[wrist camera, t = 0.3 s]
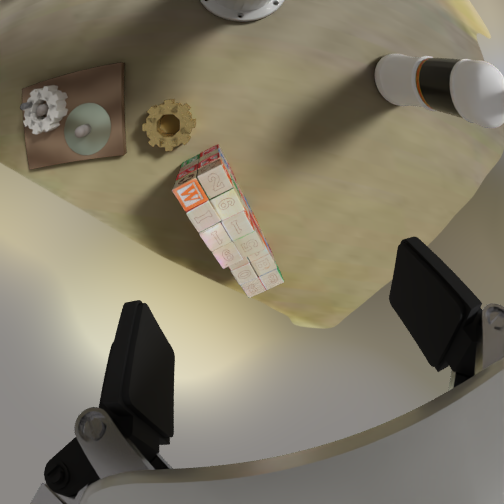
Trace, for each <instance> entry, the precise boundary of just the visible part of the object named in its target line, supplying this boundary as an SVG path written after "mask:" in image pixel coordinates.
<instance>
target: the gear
mask: <svg viewBox="0 0 504 504" xmlns="http://www.w3.org/2000/svg"><path fill="white" fill-rule="evenodd" d="M57 89H58V86H55V85H50V86H44V87H43V88H40V89H34V90H33V91H32V92H31V93H30V95H31V97H30V98H29V99H28V100H27V102H26V103H22V104H21V106H20V109H21V110H24V111H25V113H24V117H25V120H24V121H23V123H24V125H25V127H26V126H29V129H33V132H32V133H33V134H39V133H42V132H44V131H46V132H48V131H50V130H53V129H56V128H57V127H58V126H60V124H59V121H61V120H62V118H63V116H66V115H67V112H68V109H66V108H65V107H66V101H65V99H67V98H68V97H67V94H66V92H64V93H62V92H61V91H60V90H57ZM44 101H46V102H47V105H48V107H49V109H48V113H47V117H46V118H45V117H44V116H43V115H42V116H39V115H38V114H37V113H36V109H37V107H38V106H39V105H41V104H43V102H44Z"/></svg>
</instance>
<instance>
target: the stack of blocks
mask: <svg viewBox="0 0 504 504" xmlns="http://www.w3.org/2000/svg"><path fill="white" fill-rule="evenodd" d="M172 191H173V193H174V195H175V196H176V198H177V199H178V201H179V203H180V204H181V206H182V207H183V209H184V210H185V211H186V215H187V216H188V218H189V219H190V221H191V222H192V224H193V225H194V227H195V228H196V230H197V231H198V232H199V235H200V237H201V238H202V240H203V241H204V242H205V244H206V245H207V247H208V248H209V250H210V251H211V252H212V254H213V255H214V257H215V258H216V259H217V261H218V262H219V264H220V265H221V267H222V268H223V269H224V268H226V267H229V268H230V270H231V273H232V274H233V276H234V277H235V279H236V281H237V282H238V284H239V285H241V287H242V288H243V290H244V291H245V293H246V295H247V296H248V298H250V297H252V296H255V295H257V294H259V293H262V292H264V291H266V290H267V289H270V288H272V287H274V286H277V285H279V284H281V283H283V282H284V280H283V277H282V275H281V272H280V270H279V268H278V266H277V263H276V261H275V259H274V256H273V254H272V251H271V249H270V247H269V245H268V243H267V241H266V238H265V236H264V234H263V232H262V230H261V228H260V226H259V224H258V222H257V220H256V218H255V216H254V214H253V212H252V210H251V209H250V207H249V205H248V203H247V201H246V199H245V197H244V195H243V193H242V191H241V189H240V187H239V185H238V183H237V181H236V179H235V176H234V174H233V172H232V170H231V168H230V166H229V164H228V162H227V160H226V158H225V156H224V154H223V152H222V150H221V148H220V146H219V144H218V145H216V146H214V147H212V148H210V149H208V150H206V151H204V152H202V153H200V154H199V155H197V156H195V157H193V158H191V159H189V160H187V161H185V162H183V163H182V165H181V167H180V171H179V174H178V175H177V178H176V180H175V184H174V187H173V189H172Z"/></svg>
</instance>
